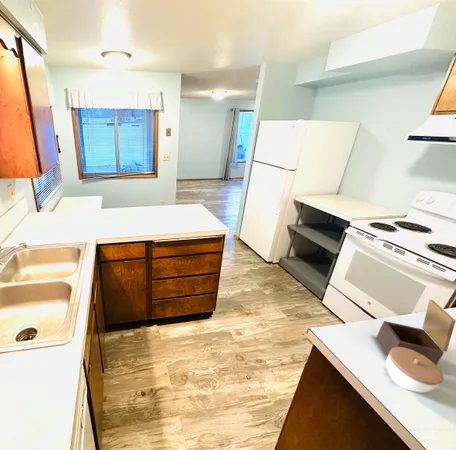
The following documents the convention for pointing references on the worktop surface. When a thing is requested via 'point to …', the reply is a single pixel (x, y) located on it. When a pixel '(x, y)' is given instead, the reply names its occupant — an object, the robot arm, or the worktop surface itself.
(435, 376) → the trinket box
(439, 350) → the brown hinged box
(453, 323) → the gold box lid
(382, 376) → the worktop surface
